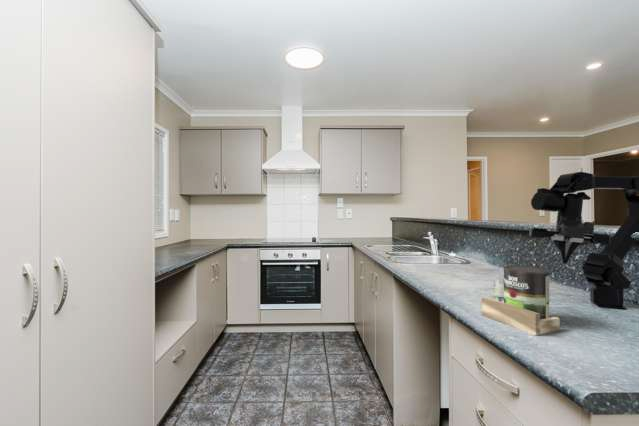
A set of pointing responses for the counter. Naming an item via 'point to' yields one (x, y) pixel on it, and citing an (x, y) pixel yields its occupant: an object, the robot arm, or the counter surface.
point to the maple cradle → (518, 317)
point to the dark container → (527, 288)
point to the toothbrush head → (499, 289)
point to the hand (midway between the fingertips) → (564, 263)
